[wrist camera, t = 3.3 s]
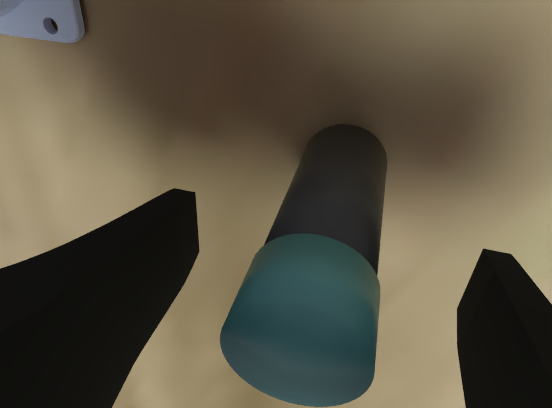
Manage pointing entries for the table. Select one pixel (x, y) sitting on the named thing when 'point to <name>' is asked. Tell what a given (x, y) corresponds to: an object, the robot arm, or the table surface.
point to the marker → (316, 279)
